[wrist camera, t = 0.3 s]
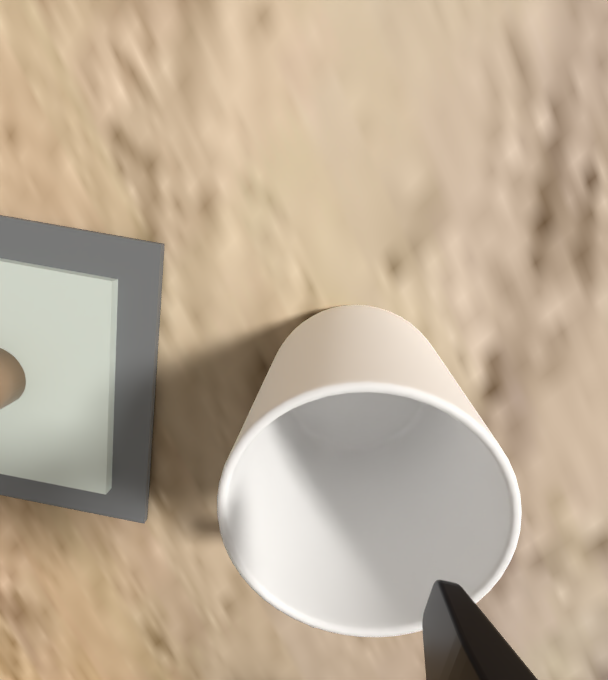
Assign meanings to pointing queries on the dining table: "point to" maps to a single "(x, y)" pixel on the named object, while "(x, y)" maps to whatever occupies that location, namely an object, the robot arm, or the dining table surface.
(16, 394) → the panel
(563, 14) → the dining table surface
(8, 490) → the mat
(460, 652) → the robot arm
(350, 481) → the mug
